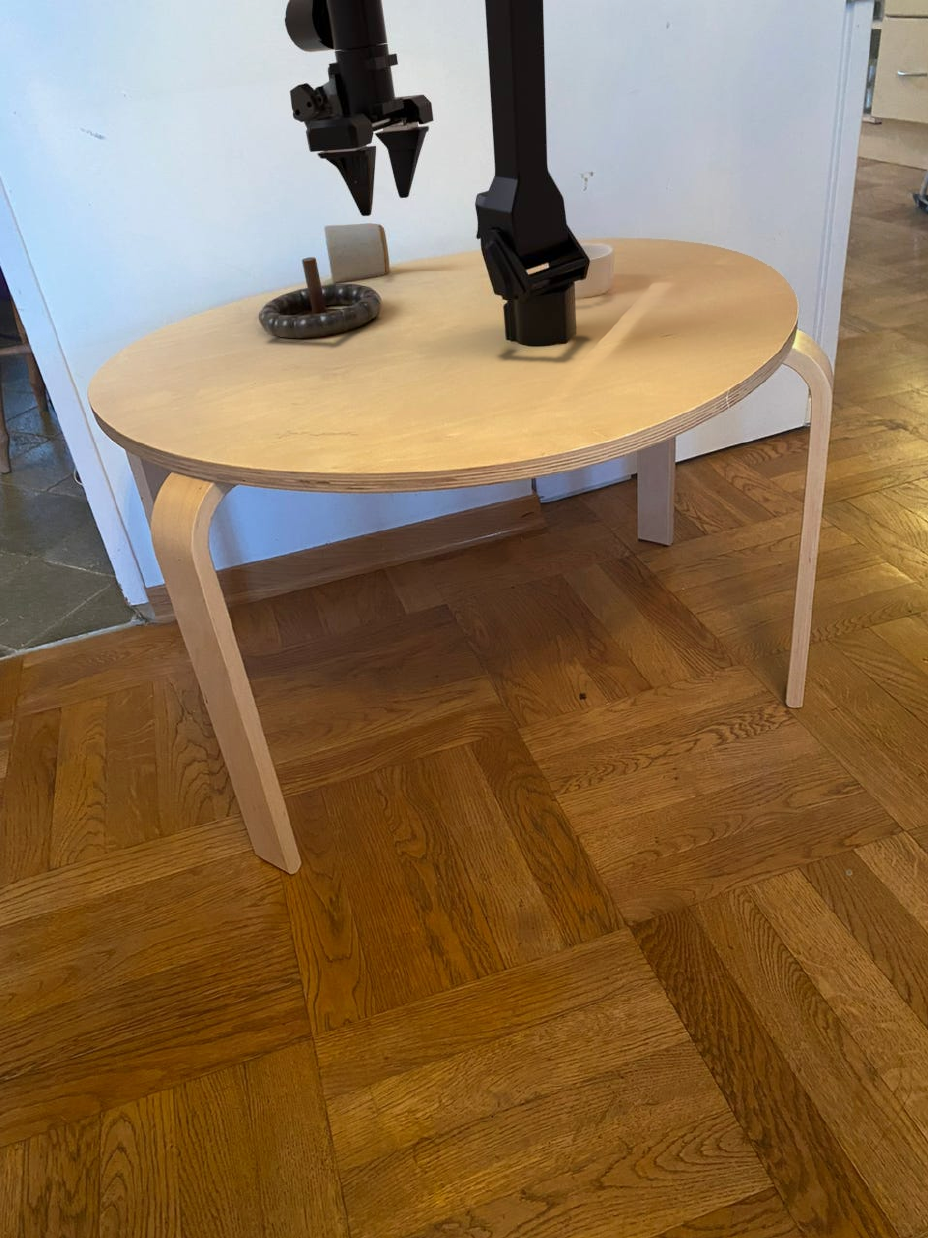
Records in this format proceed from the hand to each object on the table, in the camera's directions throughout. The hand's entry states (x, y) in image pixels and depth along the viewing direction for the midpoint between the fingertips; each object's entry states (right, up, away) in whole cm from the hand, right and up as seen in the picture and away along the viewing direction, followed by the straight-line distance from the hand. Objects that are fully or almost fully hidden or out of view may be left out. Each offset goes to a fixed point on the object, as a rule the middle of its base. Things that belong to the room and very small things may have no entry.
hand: (385, 206), depth 101 cm
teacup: (+23, -10, +2) cm, 25 cm away
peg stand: (-8, -14, +3) cm, 16 cm away
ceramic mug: (-5, -1, +20) cm, 20 cm away
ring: (-8, -12, +1) cm, 14 cm away
